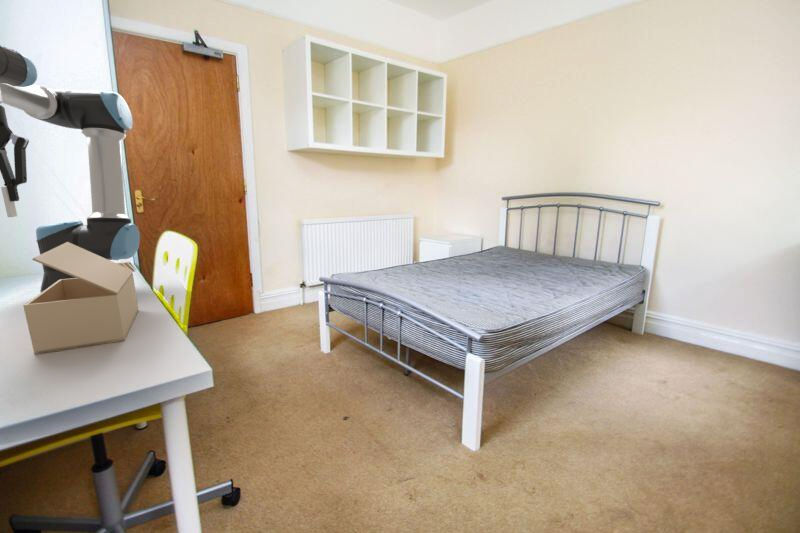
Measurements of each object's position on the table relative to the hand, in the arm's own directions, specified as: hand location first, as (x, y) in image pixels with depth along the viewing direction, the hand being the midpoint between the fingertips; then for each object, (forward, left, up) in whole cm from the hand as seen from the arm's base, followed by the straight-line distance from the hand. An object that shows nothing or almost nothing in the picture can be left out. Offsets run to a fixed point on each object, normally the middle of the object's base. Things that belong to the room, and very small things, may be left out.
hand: (3, 216), depth 86 cm
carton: (0, +12, -28) cm, 31 cm away
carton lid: (0, +13, -13) cm, 19 cm away
